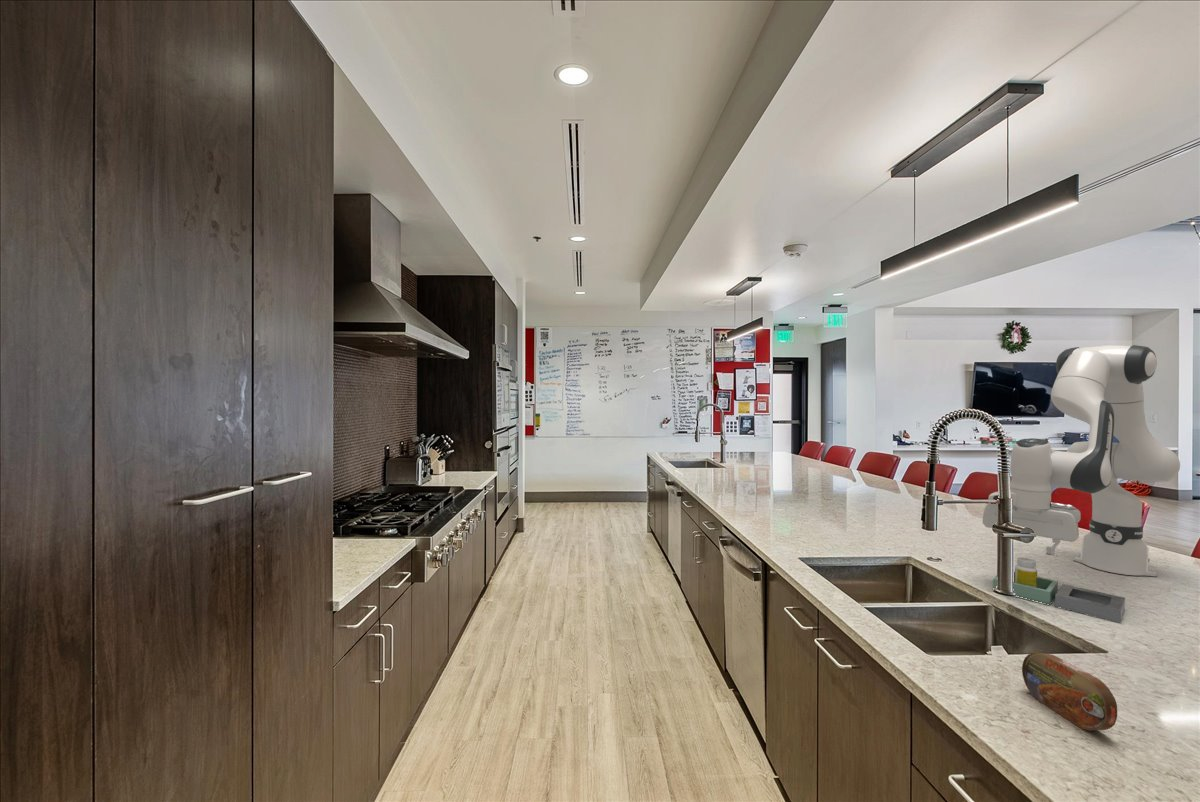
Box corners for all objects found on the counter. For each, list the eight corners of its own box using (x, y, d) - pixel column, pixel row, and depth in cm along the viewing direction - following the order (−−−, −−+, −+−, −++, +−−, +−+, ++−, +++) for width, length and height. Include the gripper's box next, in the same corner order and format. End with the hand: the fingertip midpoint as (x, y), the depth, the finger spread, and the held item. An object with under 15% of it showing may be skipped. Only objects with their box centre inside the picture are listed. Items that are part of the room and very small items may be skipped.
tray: (1003, 581, 155) (1003, 569, 155) (1057, 593, 146) (1058, 581, 146) (992, 591, 147) (993, 578, 146) (1049, 605, 138) (1050, 592, 138)
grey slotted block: (1062, 595, 145) (1062, 584, 145) (1124, 609, 136) (1125, 597, 136) (1054, 606, 137) (1055, 595, 137) (1120, 623, 128) (1121, 610, 128)
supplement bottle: (1040, 594, 143) (1042, 563, 143) (1020, 593, 144) (1021, 561, 144) (1029, 588, 148) (1031, 557, 148) (1010, 586, 149) (1011, 556, 149)
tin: (1019, 688, 99) (1021, 643, 99) (1035, 688, 99) (1037, 643, 99) (1102, 743, 84) (1105, 690, 84) (1120, 742, 84) (1123, 689, 84)
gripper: (1082, 504, 140) (1080, 557, 141) (987, 491, 155) (986, 539, 156) (1079, 508, 136) (1077, 562, 136) (981, 495, 151) (980, 544, 151)
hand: (1027, 550), depth 146 cm, fingers open, 8 cm apart
